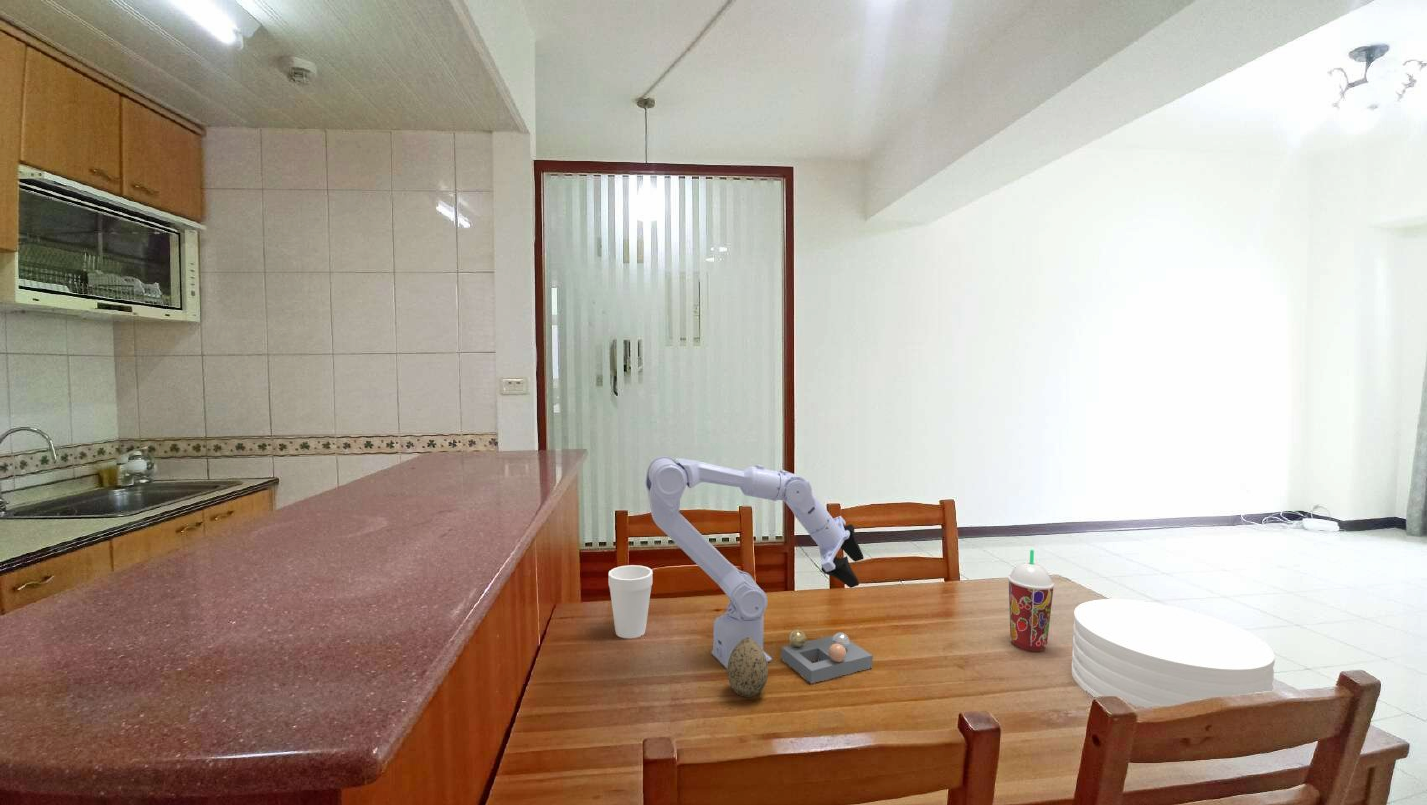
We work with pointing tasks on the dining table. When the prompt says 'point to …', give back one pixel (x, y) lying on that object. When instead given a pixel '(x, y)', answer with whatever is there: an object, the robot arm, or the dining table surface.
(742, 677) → the decorative egg
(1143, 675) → the plate stack
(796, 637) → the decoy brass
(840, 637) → the steel ball
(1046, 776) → the dining table surface
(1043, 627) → the smoothie
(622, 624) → the foam cup
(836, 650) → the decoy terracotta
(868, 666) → the grey tray with hole
